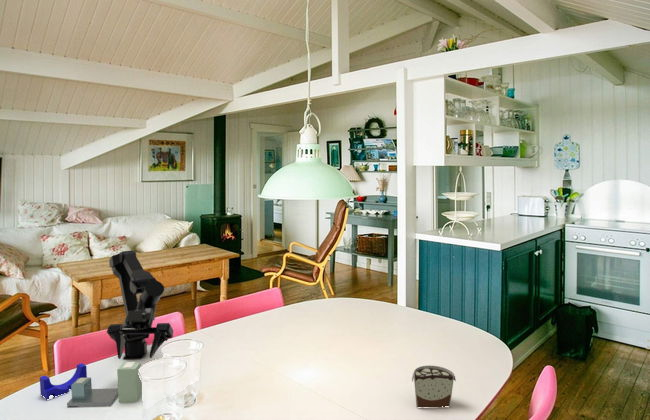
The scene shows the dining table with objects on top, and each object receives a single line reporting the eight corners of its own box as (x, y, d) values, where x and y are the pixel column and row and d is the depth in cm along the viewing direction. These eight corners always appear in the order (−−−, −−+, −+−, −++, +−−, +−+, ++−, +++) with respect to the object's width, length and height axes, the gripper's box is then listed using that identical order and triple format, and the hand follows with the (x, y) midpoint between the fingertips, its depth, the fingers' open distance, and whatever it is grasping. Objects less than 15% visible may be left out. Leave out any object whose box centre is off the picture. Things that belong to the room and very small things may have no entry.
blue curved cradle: (47, 401, 128) (46, 381, 128) (40, 396, 131) (39, 377, 130) (89, 385, 138) (88, 366, 137) (82, 381, 140) (81, 363, 140)
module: (118, 402, 127) (117, 368, 126) (124, 394, 132) (123, 361, 131) (136, 402, 127) (135, 367, 126) (141, 394, 132) (140, 361, 131)
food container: (448, 396, 131) (449, 364, 130) (455, 407, 125) (456, 373, 124) (407, 397, 130) (407, 364, 130) (411, 408, 124) (412, 374, 123)
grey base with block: (67, 407, 125) (66, 387, 124) (81, 393, 132) (80, 374, 132) (110, 405, 125) (109, 386, 125) (121, 391, 133) (121, 373, 133)
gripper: (107, 299, 136) (93, 348, 126) (169, 297, 137) (159, 346, 127) (119, 315, 144) (106, 362, 134) (177, 314, 146) (168, 361, 136)
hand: (134, 357), depth 133 cm, fingers open, 9 cm apart
